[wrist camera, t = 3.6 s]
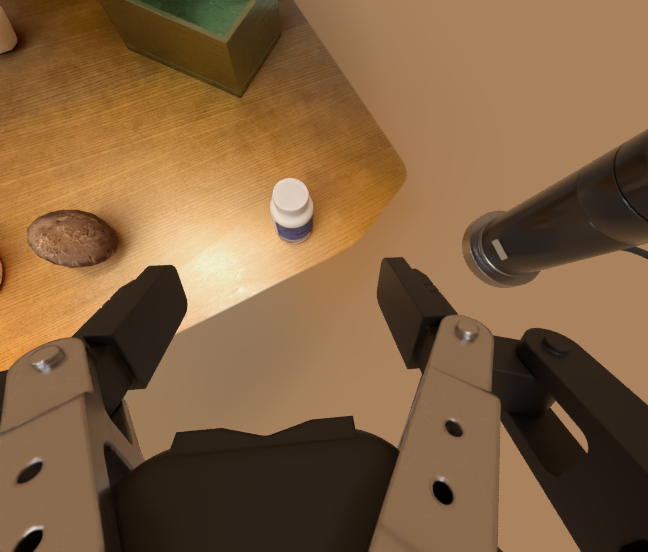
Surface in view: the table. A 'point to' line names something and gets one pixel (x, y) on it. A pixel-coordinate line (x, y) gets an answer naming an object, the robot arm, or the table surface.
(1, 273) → the white round flat piece
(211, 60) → the open box
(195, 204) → the table surface
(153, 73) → the table surface
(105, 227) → the mushroom
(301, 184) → the pill bottle
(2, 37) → the plain white apple
